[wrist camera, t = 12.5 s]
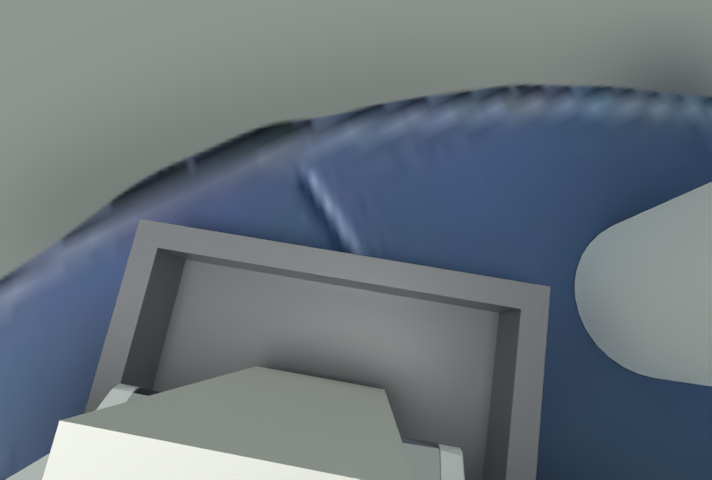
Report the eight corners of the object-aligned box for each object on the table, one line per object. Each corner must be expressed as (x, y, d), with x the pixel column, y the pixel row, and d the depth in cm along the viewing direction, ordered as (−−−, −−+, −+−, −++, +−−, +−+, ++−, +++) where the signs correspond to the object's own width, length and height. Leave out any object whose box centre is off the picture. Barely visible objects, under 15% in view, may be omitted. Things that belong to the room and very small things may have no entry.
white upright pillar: (384, 389, 16) (418, 491, 6) (374, 457, 16) (391, 707, 5) (256, 366, 17) (59, 420, 6) (242, 431, 16) (0, 619, 6)
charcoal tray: (518, 295, 20) (550, 286, 16) (490, 597, 17) (521, 662, 14) (177, 238, 21) (139, 219, 17) (104, 516, 18) (42, 558, 15)
